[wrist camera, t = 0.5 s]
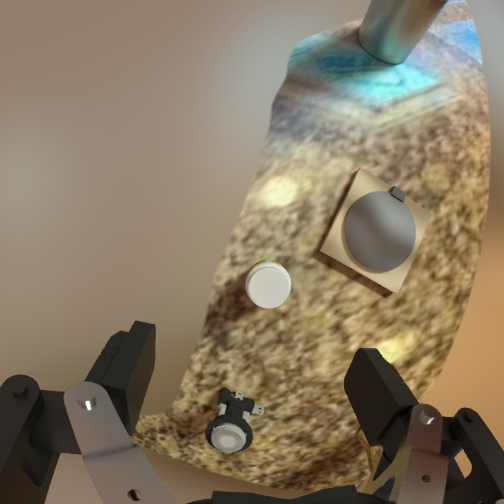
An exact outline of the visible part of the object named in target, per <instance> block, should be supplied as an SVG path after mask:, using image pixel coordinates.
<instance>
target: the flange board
mask: <svg viewBox="0 0 504 504" xmlns="http://www.w3.org/2000/svg"><path fill="white" fill-rule="evenodd" d="M406 195H407V194H406V193H405V192H403V191H402V190H400V189H399V188H397V187H396V186H394V187H391V186H390V185H388V184H387V183H385V182H383V181H382V180H380V179H379V178H377V177H375V176H374V175H372V174H370V173H369V172H367V171H366V170H364V169H362V168H359V169H358V170H357V172H356V174H355V177H354V179H353V181H352V183H351V185H350V188H349V190H348V192H347V194H346V196H345V198H344V200H343V202H342V205H341V207H340V209H339V211H338V213H337V215H336V217H335V219H334V221H333V223H332V225H331V227H330V229H329V231H328V233H327V235H326V237H325V239H324V241H323V243H322V245H321V247H320V249H319V251H320V252H322V253H323V254H325V255H327V256H329V257H331V258H332V259H334V260H336V261H338V262H340V263H342V264H343V265H345V266H347V267H349V268H351V269H352V270H354V271H356V272H358V273H359V274H361V275H363V276H365V277H367V278H368V279H370V280H372V281H374V282H375V283H377V284H379V285H381V286H382V287H384V288H386V289H388V290H389V291H391V292H393V293H395V294H397V293H398V291H399V289H400V287H401V285H402V283H403V281H404V279H405V277H406V274H407V272H408V270H409V268H410V266H411V263H412V261H413V259H414V256H415V254H416V252H417V249H418V247H419V245H420V242H421V240H422V237H423V235H424V232H425V229H426V227H427V224H428V222H429V219H430V216H431V214H430V213H429V212H428V211H426V210H425V209H423V208H422V207H421V206H419V205H418V204H416V203H415V202H414V201H412V200H411V199H409V198H408V197H406Z"/></svg>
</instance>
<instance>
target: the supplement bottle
mask: <svg viewBox="0 0 504 504" xmlns="http://www.w3.org/2000/svg"><path fill="white" fill-rule="evenodd" d="M245 288H246V292H247V295H248V296H249V298H250V299H251V300H252V301H253V302H254V303H255V304H256V305H258V306H259V307H262V308H266V309H271V308H275V307H278V306H280V305H281V304H282V303H283V302H284V301H285V300H286V299H287V297H288V295H289V293H290V290H291V279H290V276H289V274H288V272H287V271H286V270H285V269H284V268H283V267H282V266H281V265H280V264H279V263H277V262H275V261H272V260H263V261H260V262H258V263H256V264H255V265H254V266H253V267H252V268H251V270H250V271H249V273H248V275H247V278H246V282H245Z"/></svg>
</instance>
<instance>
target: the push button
mask: <svg viewBox="0 0 504 504" xmlns="http://www.w3.org/2000/svg"><path fill="white" fill-rule="evenodd" d="M238 393H240V394H241V395H239V394H238ZM243 396H244V394H243V393H241V392H238V391H236V394H234V393H231V392H230V390H229V389H226V388H223V389H222V392H221V394H220V397H219V399H218V402H217V405H216V408H218V409H219V410H220V411H219V415H218V416H216V417H215V419H214V420H213V421H212V422H210V423H209V424H208V426H207V428H206V431H205V436H206V439H207V441H208V442H209V444H210V445H212V446H213V447H214V448H216V449H218V450H220V451H223V452H228V453H235V452H240V451H243V450H245V449H246V448H248V447H249V446H250V444H251V443H252V439H253V434H252V431H251V428H250V426H249V425H248V423H247V419H248V418H249V417H250V415H251V413H253V414H255V413H256V414H259V415H263V413H264V411H263V410H264V407H261V406H258V405H257V404H255V402H254V400H252V399H249V398H246V397H243ZM259 408H261V410H260V409H259ZM259 411H261V413H259ZM214 426H215V429H214V430H213V427H214ZM245 432H246V434H247V436H245Z"/></svg>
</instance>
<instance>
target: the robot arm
mask: <svg viewBox="0 0 504 504" xmlns="http://www.w3.org/2000/svg"><path fill="white" fill-rule="evenodd" d="M447 2H448V0H371V3H370V5H369V7H368V10H367V13H366V15H365V17H364V19H363V22H362V24H361V27H360V29H359V32H358V40H359V42H360V44H361V45H362V47H363V48H364V49H365V50H366V51H367V52H368V53H370V54H371V55H372V56H374V57H376V58H377V59H379V60H381V61H384V62H387V63H392V64H398V63H402V62H404V61H405V60H406V59H407V57H408V56H409V54H410V53H411V52H412V50H413V49H414V48H415V46H416V45H417V44H418V42H419V41H420V39H421V38H422V37H423V35H424V34H425V33H426V31H427V30H428V28H429V27H430V26H431V24H432V23H433V21H434V20H435V19H436V17H437V16H438V14H439V13H440V12H441V10H442V9H443V7H444V6H445V4H446V3H447ZM155 337H156V327H155V324H150V323H145V322H141V321H135V322H134V324H133V325H132V327H131V329H130V331H129V332H125V331H119V332H118V333H116V334H114V335H113V336H111V337H110V339H109V340H108V342H107V344H106V345H105V348H104V349H103V350H102V352H101V355H99V357H98V359H97V360H96V362H95V363H94V365H93V367H92V369H91V370H90V372H89V374H88V376H87V377H86V379H85V381H84V382H78V383H75V384H73V385H71V386H70V387H69V388H68V389H67V390H66V391H65V392H57V391H47V390H40V388H39V386H38V383H37V382H36V381H35V380H34V379H33V378H31V377H29V376H26V375H14V376H12V377H9V378H8V379H7V380H5V382H4V383H3V384H2V386H1V387H0V504H44V503H45V500H46V496H47V492H48V490H49V486H50V483H51V480H52V477H53V474H54V471H55V468H56V465H57V462H58V459H59V456H60V453H70V454H82V455H83V460H84V463H85V465H86V468H87V470H88V472H89V474H90V477H91V479H92V481H93V483H94V485H95V487H96V489H97V491H98V493H99V495H100V497H101V499H102V501H103V503H104V504H179V503H178V502H177V501H176V500H175V498H174V497H173V496H172V494H171V493H170V492H169V490H168V489H167V488H166V486H165V485H164V483H163V482H162V480H161V479H160V478H159V476H158V475H157V473H156V472H155V470H154V469H153V467H152V466H151V464H150V463H149V461H148V459H147V458H146V456H145V455H144V453H143V451H142V450H141V449H140V447H139V446H138V445H137V444H136V445H135V444H134V443H133V442H132V440H131V439H130V437H129V435H131V436H133V434H134V430H135V427H136V424H137V420H138V417H139V414H140V410H141V407H142V404H143V401H144V398H145V395H146V392H147V388H148V385H149V382H150V379H151V376H152V373H153V370H154V365H155ZM344 390H345V392H346V394H347V396H348V399H349V401H350V403H351V405H352V408H353V410H354V412H355V414H356V417H357V419H358V421H359V423H360V426H361V428H362V430H363V433H364V435H365V437H366V439H367V442H368V444H369V446H370V447H375V446H380V445H381V446H382V448H383V449H382V450H381V451H380V452H379V454H378V457H377V460H376V462H375V465H374V467H373V470H372V473H371V475H370V477H369V480H368V482H367V485H366V487H365V488H364V490H363V491H362V492H361V493H360V492H357V490H356V487H355V484H353V485H347V486H341V487H334V488H327V489H322V490H320V491H317V492H314V493H311V494H308V495H305V496H302V497H298V498H295V499H281V498H275V497H269V496H264V495H259V494H255V493H242V492H241V493H240V492H222V491H213V493H212V497H211V499H203V500H198V501H193V502H190V503H187V504H504V451H503V449H502V448H501V446H500V445H499V443H498V442H497V440H496V439H495V437H494V436H493V434H492V433H491V431H490V430H489V428H488V427H487V426H486V424H485V423H484V422H483V420H482V419H481V417H480V416H479V415H478V413H477V412H475V411H474V410H472V409H470V408H461V409H459V410H458V412H457V413H456V414H455V416H454V417H442V415H441V414H440V412H439V411H438V410H437V409H436V408H434V407H433V406H431V405H428V404H419V402H418V401H417V399H416V398H415V396H414V395H413V393H412V392H411V390H410V389H409V387H408V386H407V385H406V383H404V380H403V379H402V377H401V376H400V374H399V373H398V372H397V370H396V369H395V367H394V366H392V365H391V364H390V363H389V362H387V361H386V360H385V359H384V358H383V356H382V355H381V354H380V352H379V351H378V349H376V348H359V349H358V350H357V351H356V353H355V356H354V358H353V360H352V362H351V364H350V367H349V369H348V371H347V373H346V375H345V378H344ZM462 449H463V450H464V452H465V453H466V455H467V457H468V459H469V460H470V462H471V464H472V471H471V473H470V474H469V475H468V476H467V477H466V478H464V476H463V474H462V472H461V470H460V468H459V466H458V465H457V463H456V461H455V459H454V457H455V456H456V455H457V454H458V453H459V452H460V451H461V450H462Z"/></svg>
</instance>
